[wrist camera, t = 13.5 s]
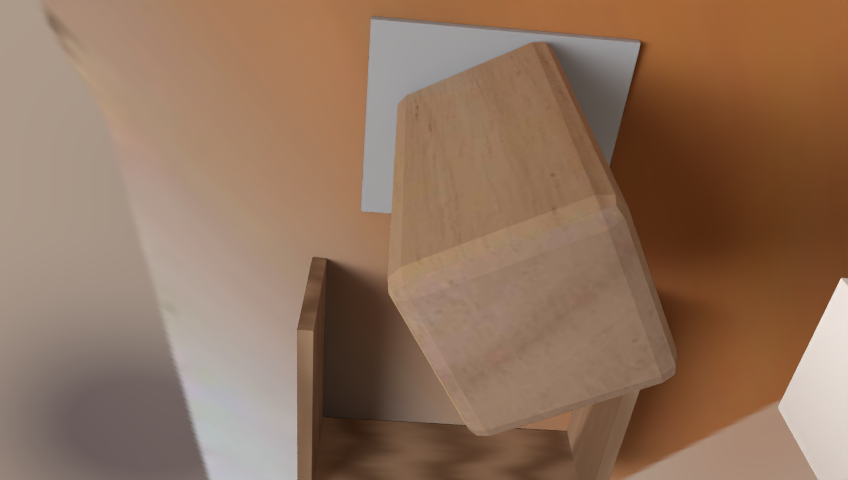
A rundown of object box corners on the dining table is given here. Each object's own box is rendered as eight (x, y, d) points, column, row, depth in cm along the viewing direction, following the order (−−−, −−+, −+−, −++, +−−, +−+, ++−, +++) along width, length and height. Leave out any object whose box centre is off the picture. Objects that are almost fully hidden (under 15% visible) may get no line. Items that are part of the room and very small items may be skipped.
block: (595, 168, 48) (690, 385, 32) (454, 221, 50) (472, 451, 34) (546, 29, 43) (627, 198, 27) (391, 95, 45) (376, 290, 29)
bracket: (623, 279, 54) (652, 352, 47) (576, 440, 63) (595, 520, 56) (312, 257, 53) (297, 329, 46) (310, 424, 62) (297, 505, 55)
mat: (638, 39, 44) (640, 43, 44) (591, 223, 51) (593, 228, 51) (371, 16, 43) (370, 19, 43) (361, 206, 50) (361, 211, 50)
